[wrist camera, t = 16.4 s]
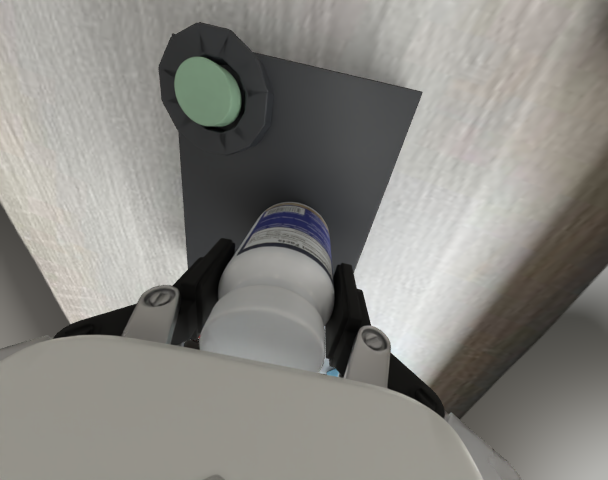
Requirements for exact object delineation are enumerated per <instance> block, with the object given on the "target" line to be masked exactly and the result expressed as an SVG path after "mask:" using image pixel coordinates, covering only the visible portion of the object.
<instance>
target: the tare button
mask: <svg viewBox="0 0 608 480" xmlns="http://www.w3.org/2000/svg"><path fill="white" fill-rule="evenodd" d="M174 88H175V94H176V97H177V100H178V103H179V105H180V107H181V108H182V110H183V111H184V113H185V114H186V115H187V116H188V117H189V118H190V119H191V120H193V121H194V122H196V123H198V124H200V125H203V126H227V125H229V124H231V123H232V122H234V121H235V120H236V118H237V117H238V115H239V113H240V110H241V104H242V98H241V92H240V89H239V86H238V84H237V82H236V80H235V78H234V77H233V76H232V75H231V74H230V73H229V72H228V71H227V70H226V69H224V68H223V67H221V66H219V65H218V64H216V63H214V62H213V61H211V60H209V59H207V58H204V57H191V58H188V59H187V60H185V61H184V62H183V63H182V64H181V65H180V66H179V68H178V70H177V72H176V75H175V81H174Z"/></svg>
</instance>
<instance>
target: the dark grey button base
mask: <svg viewBox="0 0 608 480" xmlns="http://www.w3.org/2000/svg"><path fill="white" fill-rule="evenodd" d="M191 57H204V58H207V59H209V60H211V61H213V62H214V63H216V64H218V65H219V66H221V67H223V68H224V69H226V70H227V71H228V72H229V73H230V74H231V75H232V76H233V77H234V78H235V80H236V82H237V84H238V86H239V89H240V92H241V98H242V104H241V110H240V113H239V115H238V117H237V118H236V120H235V121H234V122H232V123H231V124H229V125H227V126H203V125H200V124H198V123H196V122H194V121H193V120H191V119H190V118H189V117H188V116H187V115H186V114H185V113H184V111H183V110H182V108H181V107H180V105H179V103H178V100H177V97H176V94H175V88H174V81H175V75H176V72H177V70H178V68H179V66H180V65H181V64H182V63H183V62H184V61H185V60H187V59H188V58H191ZM159 77H160V87H161V98H162V101H163V104H164V106H165V107H166V109H167V111H168V113H169V115H170V117H171V119H172V121H173V123H174V124H175V126H176V128H177V130H178V132H179V145H180V160H181V174H182V189H183V204H184V218H185V233H186V247H187V262H188V269H189V268H190V267H191V266H192V265H193V264H194V263H195V261H196V260H197V259H198V258H200V257H204V256H205V255H206V254H207V253H208V252H209V251H210V250H211V248H212V247H213V246H214V245H215V244H216V243H217V242H218V241H219V240H220V239H221V238H226V239H231V240H232V242H233V243H235V253H236V251H237V250H238V248H239V247H240V245H241V244H242V242H243V241H244V239H245V238H246V236H247V234H248V233H249V231H250V230H251V228H252V227H253V225H254V224H255V222H256V221H257V219H258V218H259V217H260V215H261V214H262V213H263V212H264V211H265V210H267V209H268V208H270V207H271V206H273V205H276V204H279V203H283V202H296V203H301V204H304V205H306V206H309V207H310V208H312V209H314V210H315V211H316V212H317V213H318V214H319V215H320V216H321V217H322V218H323V220H324V221H325V223H326V225H327V227H328V230H329V236H330V246H331V257H332V268H333V276H334V273H335V270H336V267H337V265H341V263H346V264H350V265H352V269H353V274H354V271H355V268H356V266H357V263H358V260H359V258H360V255H361V253H362V250H363V247H364V245H365V242H366V239H367V237H368V234H369V232H370V229H371V226H372V224H373V221H374V218H375V216H376V213H377V211H378V208H379V205H380V203H381V200H382V198H383V195H384V192H385V190H386V187H387V184H388V182H389V179H390V177H391V174H392V171H393V169H394V166H395V163H396V161H397V158H398V156H399V153H400V150H401V148H402V145H403V142H404V140H405V137H406V135H407V132H408V129H409V127H410V124H411V122H412V119H413V116H414V114H415V111H416V108H417V106H418V103H419V101H420V98H421V95H422V92H421V91H417V90H412V89H408V88H404V87H400V86H395V85H391V84H387V83H383V82H378V81H374V80H370V79H365V78H361V77H357V76H353V75H348V74H344V73H340V72H335V71H331V70H327V69H323V68H318V67H314V66H310V65H306V64H301V63H297V62H293V61H288V60H284V59H280V58H276V57H271V56H267V55H263V54H258V53H254V52H252V51H251V50H250V49H249V48H248V47H247V46H246V45H245V44H244V43H243V42H242V41H241V40H240V39H239V38H238V37H237V36H236V35H235V34H234V33H233V31H232V30H229V29H227V28H222V27H218V26H214V25H210V24H205V23H201V22H199V23H195V24H193V25H192V26H190V27H188V28H186V29H184V30H182V31H181V32H179V33H177V34H172V37H171V38H170V40H169V43H168V45H167V47H166V50H165V52H164V55H163V57H162V59H161V62H160V64H159Z"/></svg>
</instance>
